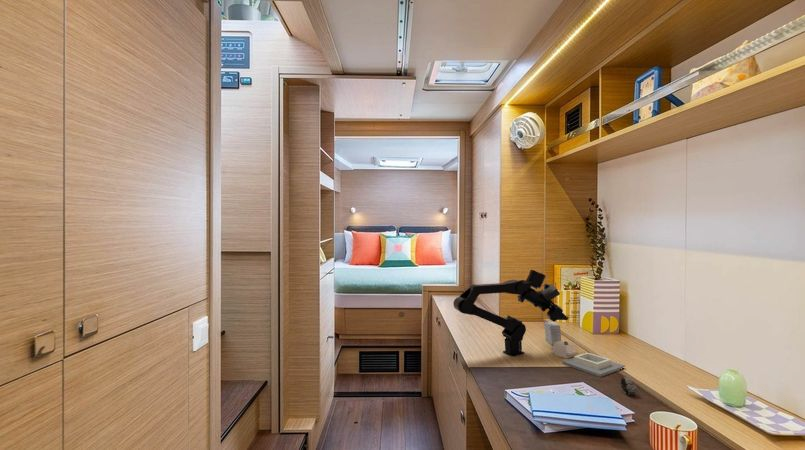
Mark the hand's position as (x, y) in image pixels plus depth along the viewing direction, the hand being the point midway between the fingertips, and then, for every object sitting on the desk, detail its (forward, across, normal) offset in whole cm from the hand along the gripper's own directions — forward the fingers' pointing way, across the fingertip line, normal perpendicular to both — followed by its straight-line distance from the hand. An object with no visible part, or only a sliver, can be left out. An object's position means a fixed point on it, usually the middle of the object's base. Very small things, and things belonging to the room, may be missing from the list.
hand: (563, 313), depth 167 cm
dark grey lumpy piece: (0, -49, +2) cm, 49 cm away
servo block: (+2, -14, +12) cm, 19 cm away
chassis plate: (+4, -26, +6) cm, 28 cm away
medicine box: (+7, +2, +14) cm, 16 cm away
